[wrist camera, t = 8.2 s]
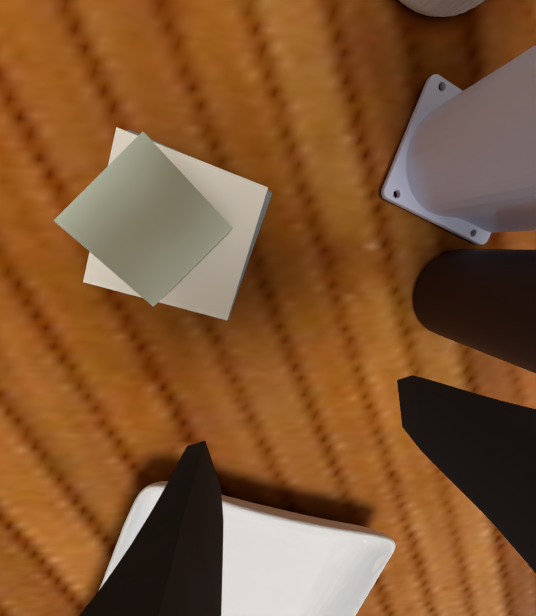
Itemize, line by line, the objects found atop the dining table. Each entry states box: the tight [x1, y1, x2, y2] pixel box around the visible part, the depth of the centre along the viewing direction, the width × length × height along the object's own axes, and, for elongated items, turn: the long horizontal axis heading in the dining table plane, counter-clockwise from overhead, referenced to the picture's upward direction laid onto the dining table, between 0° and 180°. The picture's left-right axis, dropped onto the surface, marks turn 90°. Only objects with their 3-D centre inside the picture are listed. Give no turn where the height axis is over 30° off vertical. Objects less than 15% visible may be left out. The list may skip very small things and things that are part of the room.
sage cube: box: [54, 131, 233, 307], centre depth 11 cm, size 4×4×4 cm
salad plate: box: [99, 481, 396, 616], centre depth 23 cm, size 21×21×3 cm
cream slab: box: [83, 127, 268, 320], centre depth 14 cm, size 7×7×2 cm
